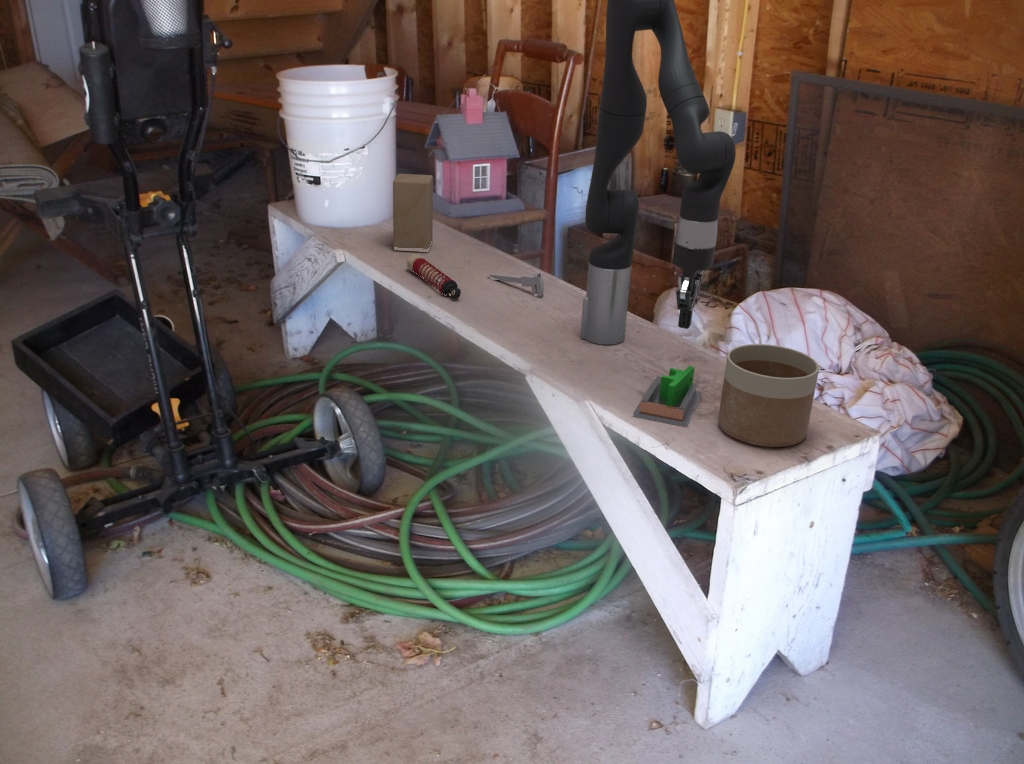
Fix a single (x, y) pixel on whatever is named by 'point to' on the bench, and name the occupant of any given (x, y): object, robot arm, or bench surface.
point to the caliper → (524, 281)
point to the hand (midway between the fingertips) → (684, 326)
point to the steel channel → (659, 411)
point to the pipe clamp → (676, 384)
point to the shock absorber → (433, 275)
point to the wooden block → (412, 211)
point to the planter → (767, 394)
